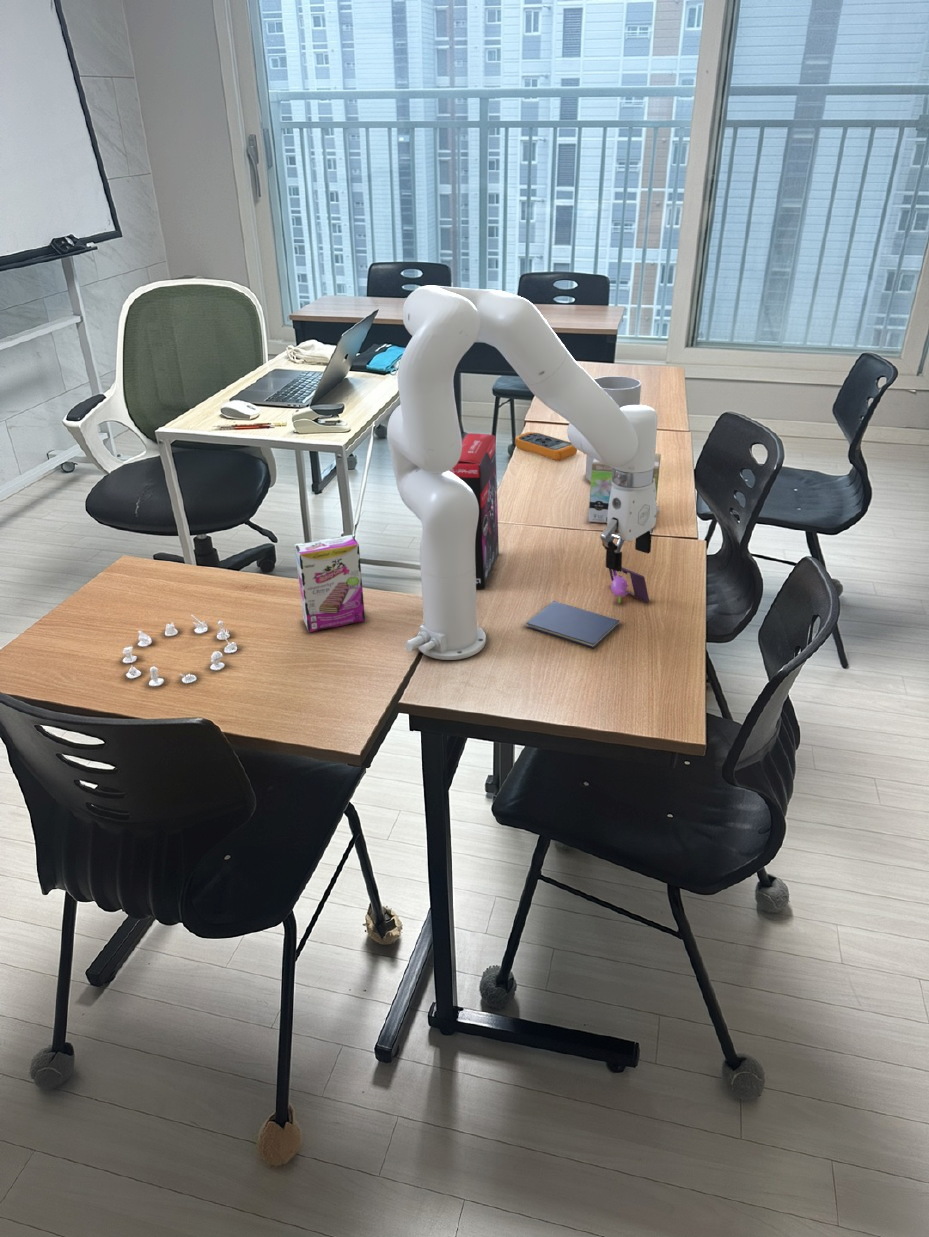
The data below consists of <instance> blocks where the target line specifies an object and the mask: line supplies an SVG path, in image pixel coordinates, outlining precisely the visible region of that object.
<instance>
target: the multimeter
mask: <svg viewBox="0 0 929 1237" xmlns="http://www.w3.org/2000/svg"><path fill="white" fill-rule="evenodd" d="M514 442H515V443H514V444H515V448H517V449H519V450H522V451H525V452H529V453H532V454H536V455H539V456H542V457H545V458H548V459H550V460H553V461H556V462H558V461H563V460H565V459H568V458H570V457H573V456H575V455H576V454H577V453H578V449H576V448H575V447H574V446H573V445H572V444H571V443H570V441H569V440H568V441H567V440H564V439H561V438H557V437H553V436H550V435H547V434H544V433H541V432H537V431H529V432H524V433H522V434H519V435H517V436H515V441H514Z"/></svg>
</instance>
